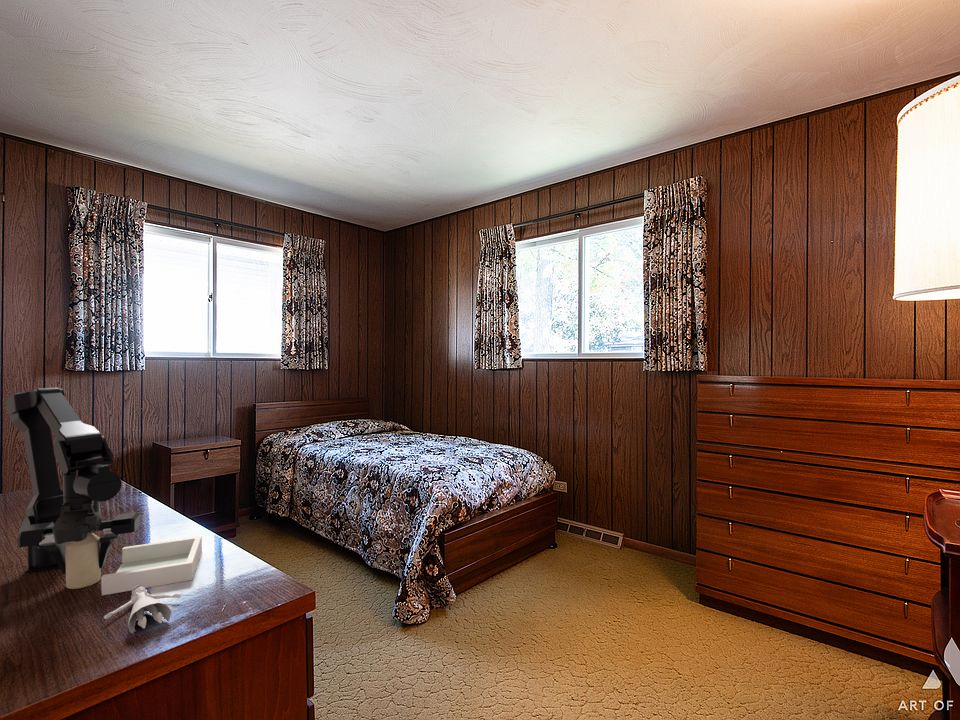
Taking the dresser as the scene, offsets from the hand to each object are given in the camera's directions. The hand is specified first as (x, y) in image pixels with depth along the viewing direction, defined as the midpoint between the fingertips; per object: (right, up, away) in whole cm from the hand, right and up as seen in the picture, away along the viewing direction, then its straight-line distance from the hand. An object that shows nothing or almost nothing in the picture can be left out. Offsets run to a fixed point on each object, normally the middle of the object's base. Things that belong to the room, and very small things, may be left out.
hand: (83, 570), depth 100 cm
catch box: (+11, -2, +5) cm, 12 cm away
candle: (0, -3, 0) cm, 3 cm away
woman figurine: (+21, -3, -12) cm, 25 cm away
